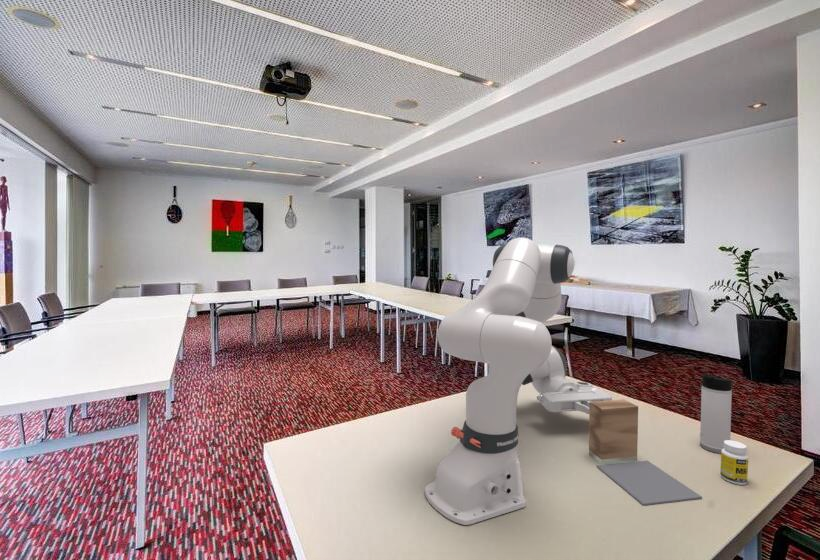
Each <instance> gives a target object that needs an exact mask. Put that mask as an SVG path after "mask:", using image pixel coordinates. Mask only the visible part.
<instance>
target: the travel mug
mask: <svg viewBox="0 0 820 560" xmlns="http://www.w3.org/2000/svg"><path fill="white" fill-rule="evenodd" d="M732 383H733V381H732V379H730V378H723V377H721V376H719V375H713V374H705V373H703V374H702V375H701V395H700V396H701V397H700V398H701V401H700V402H701V403H700V433H699V436H700V437H699V438H700V439H699V446H700V447H701V448H703V449H704V450H706V451H708V452H712V453H714V454H715V453H716V454H720V455H721V451H722V449H723V448H724V441H725V440H731V432H732V431H731V429H732V428H731V427H732V426H731V425H732V398H733V397H732V392H733V389H732V386H733V384H732Z"/></svg>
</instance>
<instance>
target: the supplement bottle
mask: <svg viewBox="0 0 820 560" xmlns="http://www.w3.org/2000/svg"><path fill="white" fill-rule="evenodd" d="M747 452H748V450H747V445H745V443H742V442H739V441H736V440H731V439H730V440H725V441H724V448H723V449H722V451H721V454H720V474H719V475H720V477H721V478H722V479H724V480H725V481H726V482H729V483H731V484H735V485H739V486H743V485H746V484H748V478H749V477H748V473H749V471H748V470H749V456H748V454H747Z"/></svg>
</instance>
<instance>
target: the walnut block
mask: <svg viewBox="0 0 820 560" xmlns="http://www.w3.org/2000/svg"><path fill="white" fill-rule="evenodd" d="M588 416H589V417H588V418H589V420H588V423H589V424H588V427H589V428H588V455H589V456H590V457H591V458H592V459H594V460H595V461H597V462H598V463H599V465H605V464H616V463H626V462H636V461H638V442H639V441H638V439H639V436H638V435H639V432H638V431H639V429H638V428H639V406H638V405H636V404H634V403H632V402H630V401H629V400H627V399H625V398H624V399H612V400H609V401H594V402H590V407H589V414H588Z"/></svg>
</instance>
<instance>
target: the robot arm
mask: <svg viewBox="0 0 820 560" xmlns="http://www.w3.org/2000/svg"><path fill="white" fill-rule="evenodd" d="M574 269H575V258H574V255H573V251H572V250H571V249H570V248H569V246H566V245H563V244H555V245H553V244H547V243H546V244H545V243H537V242H535V241H533V240H532V239H531V238H529V237H528V238H527V237H516V238H513V239H511V240H509V241H508V242H507V243H506V244H503V245H500V246H498V248H496V250H495V251H494V253H493V257H492V269H491V272H490V273H489V277H488V278H487V280H486V282H485V284H484V287H482V289H481V290H480V292H479V293H478V294H477V295H476V296H475V297H474V298H472V300H470V302H468V303H467V304H466V305H465V306H463V307H461V308H459V309H458V310H456V311H454V312H451V313H448V314H447V315H445V316H444V317H443V318H442V320H441V322H440V323H439V325H438V327H437V328H438V329H437V342H438V345H439V347H440V348H441V351H443V352H444V353H446V354H448V355H450V356H453V357H456V358H458V359H460V360H464V361H465V360H466V361H471V362H477V363H483V364H487V365H488V374H487V375H484V376H482V377H480V378H477V379H475V380H474V381H472V382H471V383H470V384H469V385H468V386H467V388H466V392H465V420H464V423H463V426H462V429H460V428H458V427H457V426H453V427H452V428H451V430H450V434H451V435H452V436H453V437H455V438H456V439H459V441H458V442H457V443H456V444H455V446H454V447H453V448H451V450H450V451H449V453H447V455H446V456H445V457H444V458H443V459H442V460H441V461H440V463H438V465H437V468H436V472H435V473H436V474H435V479H434V480H433V481H432V482H430V483H429V484H428V483H427V485H425V487H424V496H425V498H426V500H427V502H428V503H429V504H430V505H431V506H432V507H433V508H434V509H435V510H436V511H437V512H438V513H440V514H441V515H442V516H444V517H445V518H447V519H449V520H450V521H453V522H454V523H457V524H459V525H460V524H461V525H463V526H470V525H472V524H476V523H479V522H482V521H485V520H488V519H491V518H495V517H498V516H501V515H504V514H507V513H510V512H514V511H517V510H521V509H524V508H525V507H526V506H527V502H526V498H525V496H524V491H525V490H524V485H523V481H522V474H521V473H522V471H521V465H520V459H519V455H518V449H517V448H518V447H517V446H518V444H519V426H518V424H517V407H518V405H517V404H518V396H519V392H520V389H521V386H526V385H528V384H531V385H532V387H533V388H534V389H535V391H536V392H537V393H538V394H539V395H537V396H536V400H537V401H539V402H540V403H541V405H542V406H543V407H544V409H546V410H547V411H548V412H550V413H563V412H576V411H577V412H581V413H585V414H586V415H589V407H590V402H594V401H609V400H613V397H612V396H611V395H610V394H609V393H607V392H606V391H604V390H602V389H600V388H598V387H593V384H592V383H589V382H582V381H575V380H571V379H567V378H566V376H567V370H568V368H567V367H568V363H567V359H566V357H565V355H564V354H563V352H562V351H561V350H560V349H559V348H557V347H556V346H555V345H552V343H553V342H552V336H551V334H550V332H549V330H548V328H547V327H546V325H545V324H544V323H545V322H547V321H548V320H551V318H553V317H554V316H555V315H556V314H557V313H558V312H559V310H560V308H561V305H562V283H567V281H569V280H570V278H571V277H572V274H573V273H574Z"/></svg>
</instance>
